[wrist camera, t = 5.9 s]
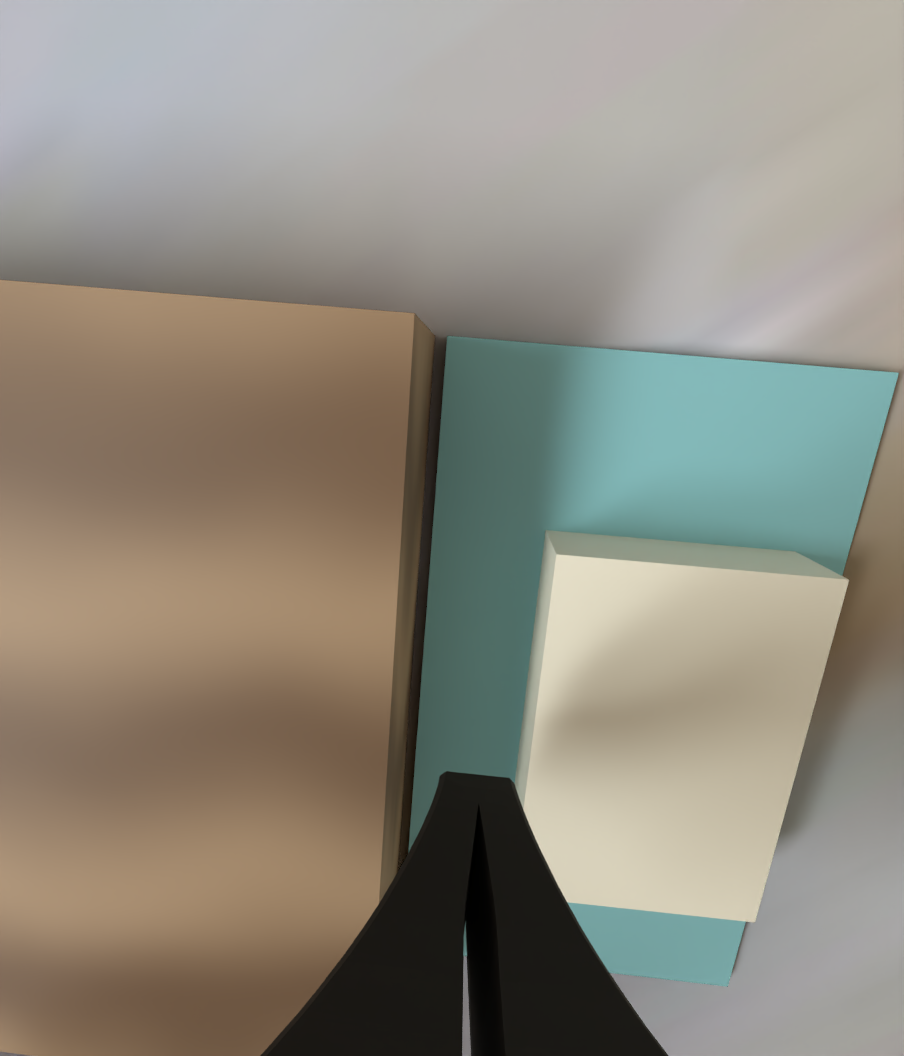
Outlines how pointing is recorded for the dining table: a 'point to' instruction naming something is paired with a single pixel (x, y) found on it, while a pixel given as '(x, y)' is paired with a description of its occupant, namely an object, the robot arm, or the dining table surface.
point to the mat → (616, 510)
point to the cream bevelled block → (669, 716)
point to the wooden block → (198, 657)
